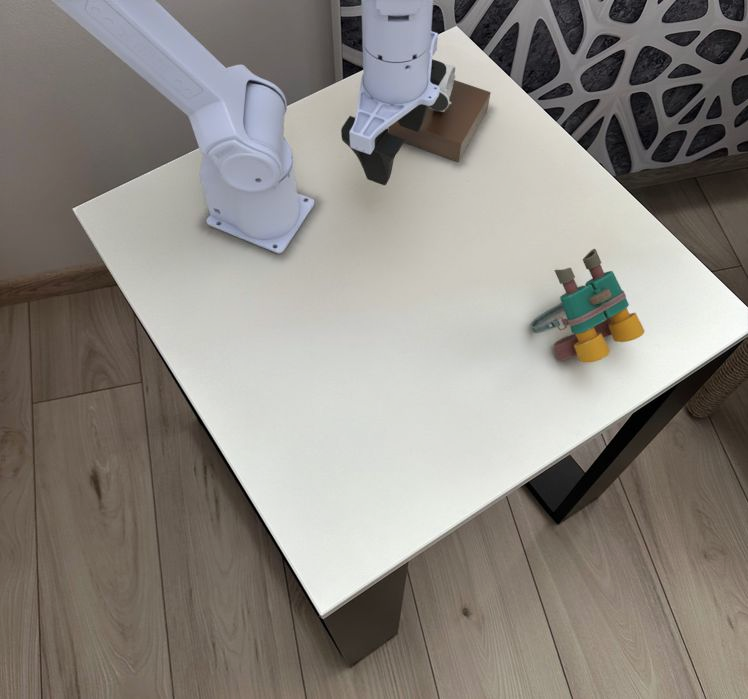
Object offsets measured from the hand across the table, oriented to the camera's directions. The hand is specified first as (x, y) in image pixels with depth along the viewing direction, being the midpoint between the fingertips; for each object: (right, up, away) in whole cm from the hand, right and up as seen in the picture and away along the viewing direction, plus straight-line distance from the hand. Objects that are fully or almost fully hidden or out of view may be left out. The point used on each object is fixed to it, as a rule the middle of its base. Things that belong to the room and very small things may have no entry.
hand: (394, 152), depth 76 cm
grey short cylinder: (+6, +9, +13) cm, 17 cm away
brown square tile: (+6, +7, +15) cm, 18 cm away
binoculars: (+19, -19, +1) cm, 27 cm away
